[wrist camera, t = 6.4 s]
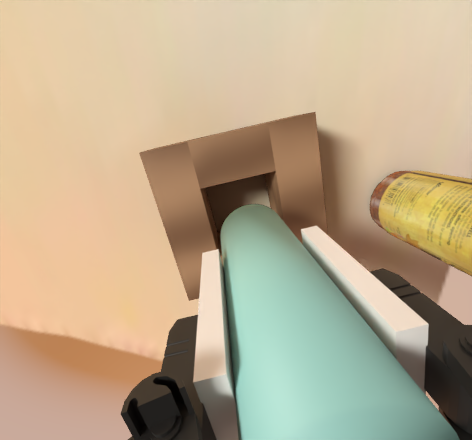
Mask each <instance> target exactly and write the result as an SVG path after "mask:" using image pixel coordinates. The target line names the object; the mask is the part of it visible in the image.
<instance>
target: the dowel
mask: <svg viewBox="0 0 472 440" xmlns="http://www.w3.org/2000/svg"><path fill="white" fill-rule="evenodd" d="M220 236H221V249H222V260H223V269H224V280H225V291H226V302H227V313H228V324H229V335H230V346H231V357H232V368H233V379H234V390H235V401H236V416H237V427H238V438H239V440H459V438H458V435H457V433H456V432H455V431H454V429H453V428H452V427H451V425H450V424H449V423H448V422H447V420H446V419H445V418H444V417H443V416H442V414H441V413H440V412H439V411H438V409H437V408H436V407H435V406H434V405H433V403H432V402H431V401H430V400H429V398H428V397H427V396H426V395H425V394H424V392H423V391H422V390H421V389H420V387H419V386H418V385H417V384H416V383H415V381H414V380H413V379H412V378H411V377H410V375H409V374H408V373H407V372H406V370H405V369H404V368H403V367H402V366H401V364H400V363H399V362H398V361H397V359H396V358H395V357H394V356H393V355H392V353H391V352H390V351H389V350H388V348H387V347H386V346H385V345H384V344H383V342H382V341H381V340H380V339H379V337H378V336H377V335H376V334H375V333H374V331H373V330H372V329H371V328H370V326H369V325H368V324H367V323H366V322H365V320H364V319H363V318H362V317H361V315H360V314H359V313H358V312H357V311H356V309H355V308H354V307H353V306H352V304H351V303H350V302H349V301H348V300H347V298H346V297H345V296H344V295H343V293H342V292H341V291H340V290H339V289H338V287H337V286H336V285H335V284H334V282H333V281H332V280H331V279H330V278H329V276H328V275H327V274H326V273H325V271H324V270H323V269H322V268H321V267H320V265H319V264H318V263H317V262H316V260H315V259H314V258H313V257H312V256H311V254H310V253H309V252H308V251H307V249H306V248H305V247H304V246H303V245H302V243H301V242H300V241H299V240H298V238H297V237H296V236H295V235H294V234H293V232H292V231H291V230H290V229H289V227H288V226H287V225H286V224H285V223H284V221H283V220H282V219H281V218H280V216H279V215H278V214H277V213H276V212H275V211H274V210H272V209H271V208H269V207H267V206H264V205H260V204H249V205H245V206H242V207H239V208H237V209H236V210H234V211H233V212H232V213H231V214H230V215H229V216H228V217H227V218H226V219H225V221H224V223H223V225H222V228H221V235H220Z"/></svg>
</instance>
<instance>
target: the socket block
mask: <svg viewBox="0 0 472 440" xmlns="http://www.w3.org/2000/svg"><path fill="white" fill-rule="evenodd" d="M140 156H141V159H142V162H143V165H144V168H145V171H146V174H147V177H148V180H149V183H150V186H151V189H152V192H153V195H154V198H155V201H156V204H157V207H158V210H159V213H160V216H161V219H162V222H163V225H164V228H165V230H166V233H167V236H168V239H169V242H170V245H171V248H172V251H173V254H174V257H175V260H176V263H177V266H178V269H179V272H180V275H181V278H182V281H183V284H184V287H185V290H186V293H187V296H188V299H189V301H190V300H194V299H198V298H199V294H200V280H201V266H202V253H204V252H208V251H212V250H217V249H219V253H220V257H221V261H222V264H223V260H222V249H221V236H220V235H221V232H219V233H217V231H216V227H215V223H214V219H213V215H212V212H211V208H210V204H209V200H208V196H207V193H206V189H205V187H210V186H214V185H218V184H222V183H227V182H231V181H235V180H239V179H244V178H248V177H252V176H256V175H261V174H265V179H266V185H267V190H268V196H269V201H270V207H271V209H272V210H274V211H275V212H276V213H277V214H278V215H279V216H280V218H281V219H282V220H283V221H284V223H285V224H286V225H287V226H288V227H289V229H290V230H291V231H292V232H293V234H294V235H295V236H296V237H297V238H298V240H299V241H300V242H301V243H302V245H303V241H302V234H301V229H304V228H308V227H313V226H318V227H319V228H320V229H321V230H322V231H323V232H324V233H326V234H327V235H328V229H327V220H326V210H325V201H324V191H323V181H322V172H321V162H320V153H319V143H318V134H317V124H316V114H315V112H313V113H307V114H302V115H297V116H292V117H287V118H283V119H279V120H275V121H270V122H266V123H262V124H257V125H253V126H249V127H244V128H240V129H236V130H232V131H227V132H223V133H219V134H214V135H210V136H206V137H201V138H197V139H193V140H188V141H184V142H180V143H176V144H171V145H167V146H163V147H158V148H154V149H151V150H147V151H144V152H141V153H140Z"/></svg>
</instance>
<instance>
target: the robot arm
mask: <svg viewBox="0 0 472 440" xmlns="http://www.w3.org/2000/svg"><path fill="white" fill-rule="evenodd" d="M301 234H302V241H303V246H304V247H305V248H306V249H307V251H308V252H309V253H310V254H311V256H312V257H313V258H314V259H315V260H316V262H317V263H318V264H319V265H320V267H321V268H322V269H323V270H324V271H325V273H326V274H327V275H328V276H329V278H330V279H331V280H332V281H333V282H334V284H335V285H336V286H337V287H338V289H339V290H340V291H341V292H342V293H343V295H344V296H345V297H346V298H347V300H348V301H349V302H350V303H351V304H352V306H353V307H354V308H355V309H356V311H357V312H358V313H359V314H360V315H361V317H362V318H363V319H364V320H365V322H366V323H367V324H368V325H369V326H370V328H371V329H372V330H373V331H374V333H375V334H376V335H377V336H378V337H379V339H380V340H381V341H382V342H383V344H384V345H385V346H386V347H387V348H388V350H389V351H390V352H391V353H392V355H393V356H394V357H395V358H396V359H397V361H398V362H399V363H400V364H401V366H402V367H403V368H404V369H405V370H406V372H407V373H408V374H409V375H410V377H411V378H412V379H413V380H414V381H415V383H416V384H417V385H418V386H419V387H420V389H421V390H422V391H423V392H424V394H425V395H426V391H427V392H428V393H429V395H430V396H431V397H432V398H433V399H434V401H435V402H436V403H437V404H438V405H439V412H440V413H441V414H442V416H443V417H444V418H445V419H446V420H447V422H448V423H449V424H450V425H451V427H452V428H453V429H454V431H455V432H456V433H457V435H458V438H459V440H472V325H464V324H462V323H461V322H460V321H458V320H457V319H456V318H454V317H453V316H452V315H450V314H449V313H448V312H447V311H445V310H444V309H442V308H441V307H440V306H439V305H437V304H436V303H435V302H433V301H432V300H431V299H429V298H428V297H427V296H425V295H424V294H423V293H422V294H421V293H420V291H419V290H418V289H416V288H415V287H414V286H411V285H410V283H408V282H407V281H406V280H404V279H403V278H402V277H400V276H399V275H397V274H395V273H392V272H390V271H387V270H385V269H380V270H375V271H371V272H369V271H368V270H367V269H365V268H364V267H363V266H362V265H361V264H360V263H359V262H357V261H356V260H355V259H354V258H353V257H352V256H351V255H350V254H348V253H347V252H346V251H345V250H344V249H343V248H342V247H340V246H339V245H338V244H337V243H336V242H335V241H334V240H332V239H331V238H330V237H329V236H328V235H327V234H326V233H324V232H323V231H322V230H321V229H320V228H319V227H318V226H313V227H308V228H304V229H301ZM164 356H165V358H164V359H163V364H162V369H161V372H159V373H155V374H152V375H151V376H149V377H147V378H146V379H144V380H142V381H141V382H140V383H139V384H138V385H137V386H136V387H135V388H134V389H133V390H132V391H131V393H130V394H129V396H128V397H127V399H126V400H125V402H124V405H123V408H122V411H121V415H122V417H123V419H124V421H125V423H126V425H127V426H128V429H129V430H130V432H131V434H132V437H131V438H129V439H128V440H239V438H238V427H237V416H236V401H235V390H234V379H233V368H232V357H231V346H230V335H229V324H228V313H227V302H226V291H225V280H224V269H223V264H222V261H221V257H220V253H219V249H217V250H212V251H208V252H204V253H202V266H201V280H200V294H199V308H198V315H195V316H191V317H186V318H182V319H178V320H177V321H176V322H175V324H174V325H173V327H172V328H171V330H170V331H169V335H168V340H167V347H166V350H165V354H164Z"/></svg>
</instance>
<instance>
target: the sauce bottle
mask: <svg viewBox="0 0 472 440" xmlns="http://www.w3.org/2000/svg"><path fill="white" fill-rule="evenodd" d="M370 213H371V216H372V218H373V220H374V221H375V222H376V223H377V224H378V225H379V226H380V227H381V228H383V229H384V230H386V231H387V232H388V233H389V234H391V235H393V236H395V237H397V238H399V239H401V240H403V241H405V242H407V243H409V244H411V245H413V246H414V247H416V248H418V249H420V250H422V251H424V252H426V253H428V254H430V255H432V256H433V257H435V258H437V259H439V260H442V261H443V262H445V263H447V264H449V265H451V266H453V267H455V268H457V269H458V270H461V271H463V272H465V273H467V274H468V275H470V276H472V179H468V178H462V177H456V176H449V175H443V174H437V173H430V172H424V171H399V172H395V173H393V174H390V175H389V176H387V177H386V178H385V179H384V180H383V181H382V182H381V183H379V184H378V185H377V187H376V188H375V190H374V192H373V194H372V196H371V201H370Z"/></svg>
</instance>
